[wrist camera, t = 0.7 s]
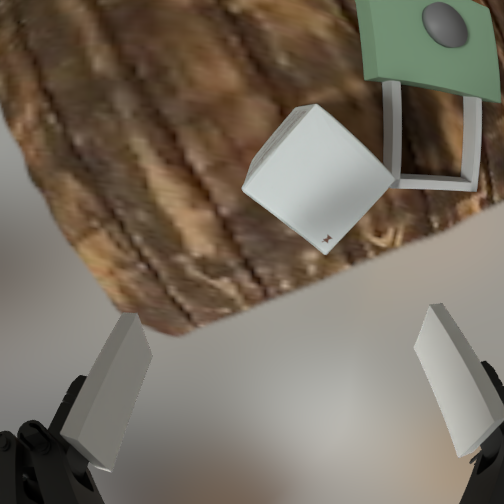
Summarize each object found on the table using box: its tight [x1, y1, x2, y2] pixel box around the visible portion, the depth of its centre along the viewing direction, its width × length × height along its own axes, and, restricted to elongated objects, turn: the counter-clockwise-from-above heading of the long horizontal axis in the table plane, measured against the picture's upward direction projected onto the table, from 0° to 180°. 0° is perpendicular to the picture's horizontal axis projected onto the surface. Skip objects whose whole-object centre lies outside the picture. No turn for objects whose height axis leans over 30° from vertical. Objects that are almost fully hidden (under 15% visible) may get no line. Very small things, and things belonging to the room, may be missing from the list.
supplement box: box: [242, 104, 395, 255], centre depth 23 cm, size 7×7×13 cm
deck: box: [355, 0, 501, 192], centre depth 21 cm, size 23×16×5 cm
